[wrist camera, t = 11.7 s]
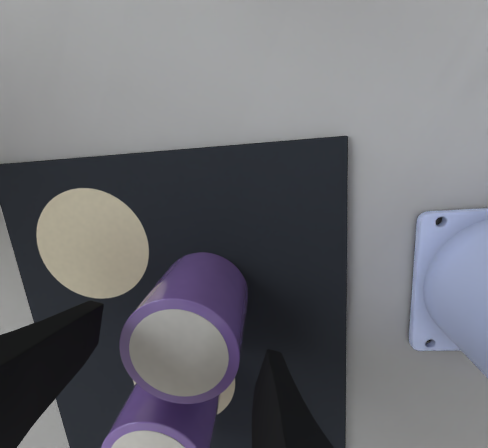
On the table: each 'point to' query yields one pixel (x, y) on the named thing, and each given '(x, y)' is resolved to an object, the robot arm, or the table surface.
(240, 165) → the mat
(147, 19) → the table surface
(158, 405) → the purple white-topped cylinder
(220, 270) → the purple cylinder white cap
